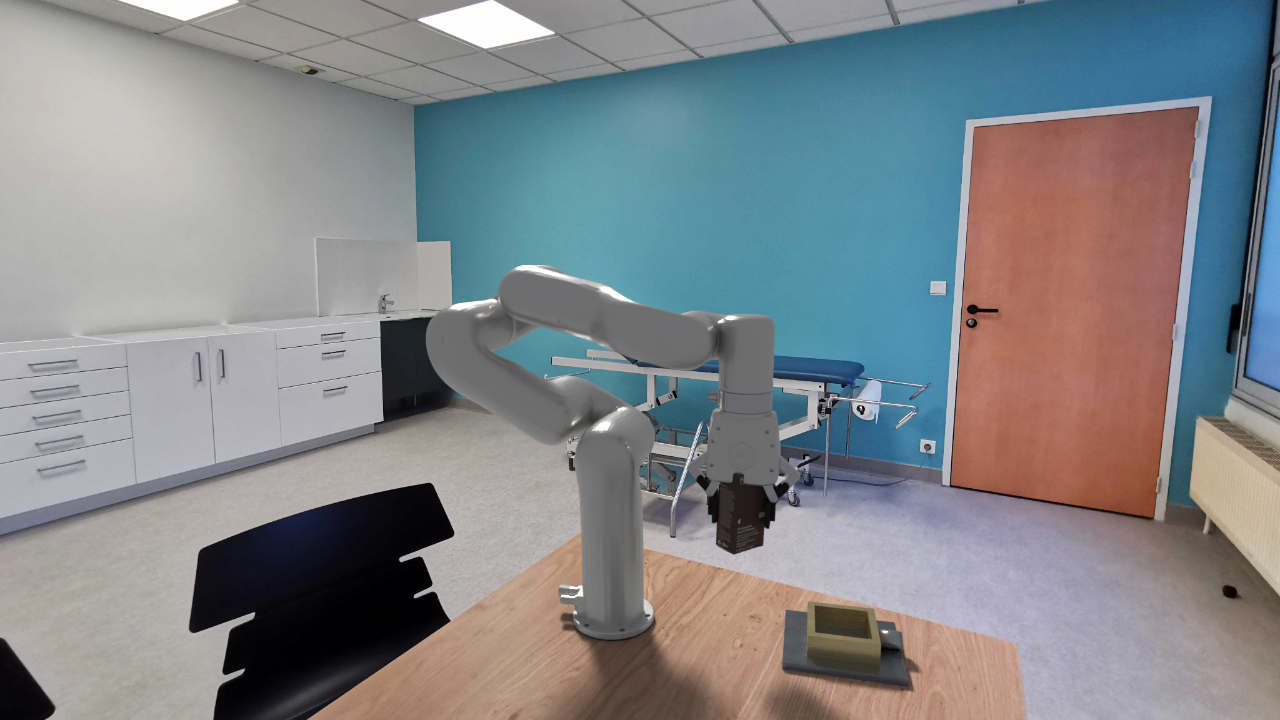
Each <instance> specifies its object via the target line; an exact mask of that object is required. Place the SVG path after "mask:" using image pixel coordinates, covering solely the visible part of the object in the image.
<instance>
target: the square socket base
mask: <svg viewBox="0 0 1280 720" xmlns="http://www.w3.org/2000/svg"><path fill="white" fill-rule="evenodd" d="M783 629H784V630H783V647H782V663H781V668H782V670H789V671H796V672H797V671H798V672H802V673H810V674H818V675H823V676H824V675H825V676H833V677H839V678H848V679H853V680H854V679H855V680H860V681H869V682H874V683H875V682H876V683H882V684H888V685H889V684H890V685H897V686H902V687H903V686H905V687H909V677H908V672H907V668H906V665H905V664H906V663H905V660H904V656H903V646H904V645H903V632H902V631H900V630H897V627H896V623H895V622H894V621H885V620H879V619H878V620H877V615H876V613H875V608H871V607H865V606H863V607H862V606H854V605H844V604H837V603H835V604H834V603H829V602H819V601H810V600H808V601H807V611H801V610H792V609H791V610H790V609H785V614H784V628H783Z"/></svg>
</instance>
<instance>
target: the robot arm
mask: <svg viewBox="0 0 1280 720" xmlns="http://www.w3.org/2000/svg"><path fill="white" fill-rule="evenodd" d="M540 328H544V329H547V330H551V331H555V332H558V333H562V334H566V335H569V336H573V337H577V338H580V339H583V340H587V341H590V342H593V343H595V344H597V345H598V346H601V347H603V348H605V349H608V350H611V352H615V353H616V354H619V355H622V356H624V357H627V358H631V359H632V360H637V361H638V362H639V361H640V362H643V363H647V364H651V365H653V366H657V367H662V368H665V369H670V370H674V371H683V372H684V371H688V372H689V371H693V370H696V369H698V368H700V367H702V366H703V365H705V364H706V363H707V362H710V361H718V389H717V390H715V391H708V394H707V395H708V396H707V401H708V402H712V403H715V405H716V406H717V408H714V409H713V410H712V413H711V416H710V421H709V427H708V435H707V436H708V437H707V444H706V445H707V446H706V450H705V451H704V452H702V453H701V454H700V455H698V456H697V457H696V458H695V459H693V460H692V461H690V462H689V463H688V465H687V467H686V469H687V471H688V472H689V473H690V475H691V476H692V477H693V478H694V479H695V481H696V483H697V484H698V485H699V486H700V487H701V488H702V489H703V491H704V492H705V495H707V496H708V497H707V515H708V516H711V524H717V511H718V491H719V484H720V483H721V482H723V483H731V482H732V479H733V473H740V474H744V484H746V485H756V486H763V487H764V489H765V491H766V494H767V496H766V501H765V522H764V529H766V530H770V529H771V528H770V526H771V522H773V523H775V522H776V513H777V512H776V509H777V502H778V500H779V499H780V498H781V497H782V496H784V494H786V493H787V492H788V491H790V489H791V488H792V487H794V485H796V484H797V483H798V481H800V479H801V472H799V471H798V470H797V468H795V467H794V466H793V465H792V464H791V463H790V462H789V461H788V460H786V459H785V457H783V456H782V455H781V452H780V450H781V449H780V447H781V446H780V441H781V440H780V428H779V427H780V426H779V420H778V415H777V412H776V411H774V410H773V396H774V395H773V394H774V393H773V392H774V390H773V388H774V369H775V367H774V366H775V365H774V363H775V338H776V335H775V334H776V325H775V321H774V320H773V318H771V317H770V316H768V315H766V314H765V315H764V314H758V313H757V314H756V313H734V314H723V313H716V312H715V313H714V312H709V311H703V310H690V311H687V312H682V313H678V312H673V311H669V310H666V309H665V310H664V309H661V308H657V307H655V306H650V305H646V304H643V303H640V302H637V301H633V300H632V299H629V298H627V297H625V296H623V295H622V294H620V293H619V292H618V291H617V290H616V289H615V288H613V287H612V286H610V285H608V284H605V283H600V282H598V281H597V282H596V281H593V280H589V279H583V278H581V277H580V278H579V277H577V276H576V277H575V276H572V275H568V274H566V273H565V272H563V271H562V270H560V268H558V267H555V266H552V265H545V264H544V265H543V264H542V265H541V264H540V265H539V264H537V265H536V264H535V265H534V264H532V265H531V264H527V265H526V264H524V265H520V266H516V267H514V268H512V269H510V270H508V271H507V272H506V273H505V274H504V276H502V278H501V280H500V281H499V285H498V289H497V293H496V294H495V295H493V296H492V297H491V296H490V298H488V299H485V300H476V301H468V302H467V301H466V302H460V303H455V304H451V305H448V306H447V307H444V308H442V309H440V310H439V311H438V312H436V313H435V314H434V315H433V317H432V318H431V319H430V321H429V322H428V325H427V328H426V331H425V332H426V334H425V345H426V351H427V356H428V359H429V361H430V364H431V366H432V368H433V369H434V371H435V373H436V374H437V375H438V377H439V378H440V379H441V380H442V381H443V382H444V383H445V384H446V385H447V386H448V387H450V388H451V389H452V390H453V391H454V392H456V393H458V394H459V395H461V396H462V397H464V398H466V399H468V400H469V401H471V402H473V403H475V404H476V405H478V406H480V407H482V408H483V409H485V410H487V411H488V412H490V413H492V414H493V415H494V416H495V417H497V418H499V419H500V420H502V421H504V422H505V423H507V424H508V425H510V426H512V427H513V428H514V429H517V430H518V431H520V432H522V433H524V434H525V435H526V436H527V437H530V438H532V439H533V440H534V441H536V442H538V443H540V444H543V445H545V446H559V445H561V444H563V443H566V442H567V441H569V440H570V439H572V438H573V437H576V438H578V439H579V440H578V441H577V445H576V447H575V451H574V452H575V453H574V469H575V470H574V471H575V475H576V476H575V477H576V481H577V487H578V495H579V513H580V516H579V517H580V538H581V541H580V542H581V545H580V546H581V548H580V549H581V579H582V581H581V584H579V585H578V586H575V585H571V584H570V585H569V584H562V583H561V584H560V585H559V587H558V592H557V593H558V597H560V598H559V603H560V604H561V605H573V607H574V609H573V611H572V622H573V625H574V626H575V627H576V629H577V630H578V632H581V633H582V634H584V635H585V636H589V637H591V638H594V639H597V640H598V639H599V640H606V641H607V640H608V641H609V640H610V641H611V640H612V641H616V640H623V639H629V638H632V637H635V636H638V635H639V634H642V633H643V632H645V631H646V630H648V629H649V628H650V626H652V623H653V622H654V619H655V618H654V617H655V611H654V608H653V605H652V604H651V603H650V601H649V600H647V599H645V597H644V595H645V593H644V591H645V590H644V587H645V585H644V583H645V581H644V580H645V579H644V576H645V575H644V573H645V572H644V571H645V570H644V513H643V512H644V509H643V507H644V506H643V495H642V488H641V481H640V471H641V470H640V469H641V466H642V464H644V461H646V459H647V458H648V457H649V456H650V454H651V452H652V451H653V449H654V447H655V446H654V445H655V443H656V442H655V441H656V435H655V434H656V433H655V429H654V426H653V423H652V422H651V421H650V418H648V417H647V416H646V415H645V413H644V412H642V411H641V410H640V409H637V408H636V407H635V406H633V405H631V404H629V403H628V402H626V401H624V400H622V399H621V398H620V397H618V396H616V395H614V394H612V393H611V392H609V391H607V390H606V389H605V388H602V387H600V386H599V385H596V384H595V383H593V382H591V381H590V380H588V379H585V378H582V377H579V376H573V375H565V376H564V375H562V376H559V377H557V378H553V379H551V380H549V379H547V378H546V379H545V378H543V377H542V376H540V375H537V374H535V373H534V372H532V371H530V370H528V369H527V368H525V367H524V366H522V365H521V364H519V363H517V362H515V361H512V360H511V359H509V358H505V357H502V356H500V355H498V354H495V353H494V352H495V351H499V350H502V349H503V348H506V347H509V346H510V345H512V344H513V343H516V342H517V341H519V340H521V339H523V338H524V337H526V336H528V335H530V334H531V333H533V332H534V331H537V330H538V329H540ZM703 465H705V473H704V472H703V471H702V470H701V467H703ZM780 470H781V471H782V472H783V473H784V474H785V475H786V478H784V479H783V480H782V481H780V482H779V483H778V484H777V485H776V483H777V482H778V480H779V475H780Z"/></svg>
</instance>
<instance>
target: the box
mask: <svg viewBox="0 0 1280 720" xmlns="http://www.w3.org/2000/svg"><path fill="white" fill-rule="evenodd" d="M718 490H719V491H718V511H717V523H716V534H715V535H716V536H715V545H716V546H717V547H718V548H720V549H722V550H723V551H725V552H727V553H730V554H732V555H733V556H735V555H738V554H740V553H745V552H747V551H750V550H753V549H757V548H760V547H764V539H765V528H764V522H765V501H766V496H767V494H766V491H765V489H764V487H763V486H756V485H746V484H744V474H740V473H733V479H732V482H731V483H723V482H721V483H720V484H719V486H718Z"/></svg>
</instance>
